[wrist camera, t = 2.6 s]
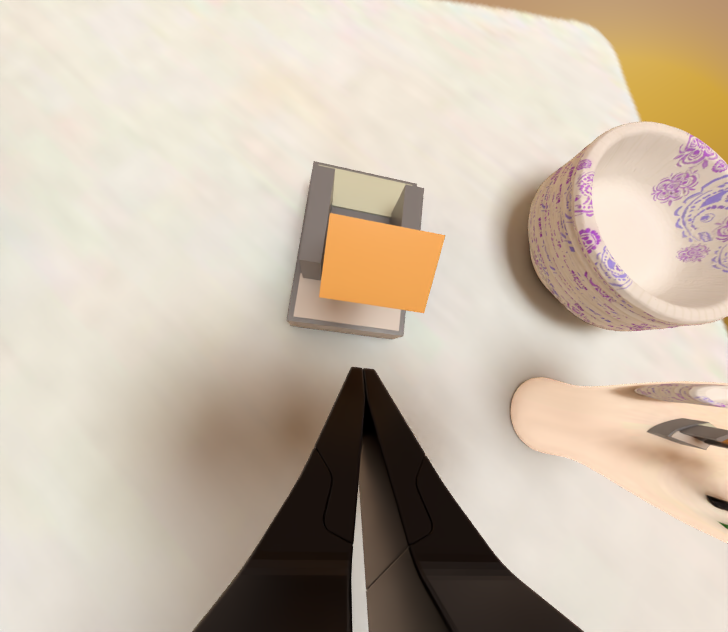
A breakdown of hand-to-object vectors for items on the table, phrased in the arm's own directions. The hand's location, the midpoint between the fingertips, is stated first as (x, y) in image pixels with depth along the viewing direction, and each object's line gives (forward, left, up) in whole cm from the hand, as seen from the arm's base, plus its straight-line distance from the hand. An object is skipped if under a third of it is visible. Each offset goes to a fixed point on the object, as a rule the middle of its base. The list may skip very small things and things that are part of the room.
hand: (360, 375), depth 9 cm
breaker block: (+6, +6, -11) cm, 14 cm away
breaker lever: (+6, +6, -7) cm, 11 cm away
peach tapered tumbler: (+11, -14, -11) cm, 21 cm away
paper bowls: (+24, -6, -11) cm, 27 cm away
